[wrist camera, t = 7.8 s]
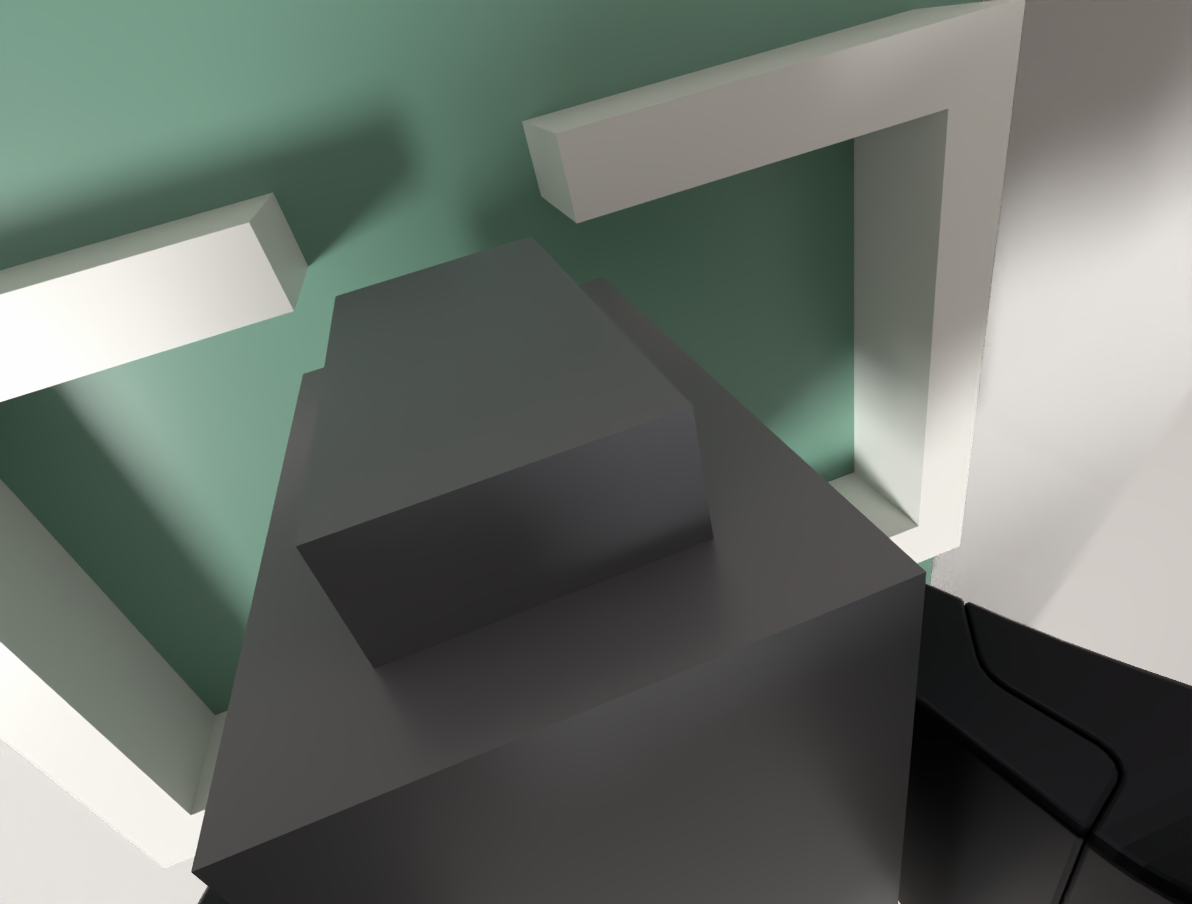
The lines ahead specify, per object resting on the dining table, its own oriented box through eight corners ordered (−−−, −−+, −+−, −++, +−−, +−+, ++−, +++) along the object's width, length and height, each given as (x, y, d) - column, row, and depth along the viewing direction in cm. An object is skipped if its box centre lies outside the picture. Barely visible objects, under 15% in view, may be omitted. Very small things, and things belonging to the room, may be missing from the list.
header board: (250, 855, 16) (228, 992, 13) (-769, -95, 6) (-1521, -202, 4) (907, 586, 18) (987, 663, 16) (971, -432, 8) (1213, -631, 6)
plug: (473, 697, 11) (549, 1167, 6) (263, 297, 7) (49, 753, 2) (676, 615, 11) (889, 997, 7) (586, 201, 7) (939, 421, 3)
